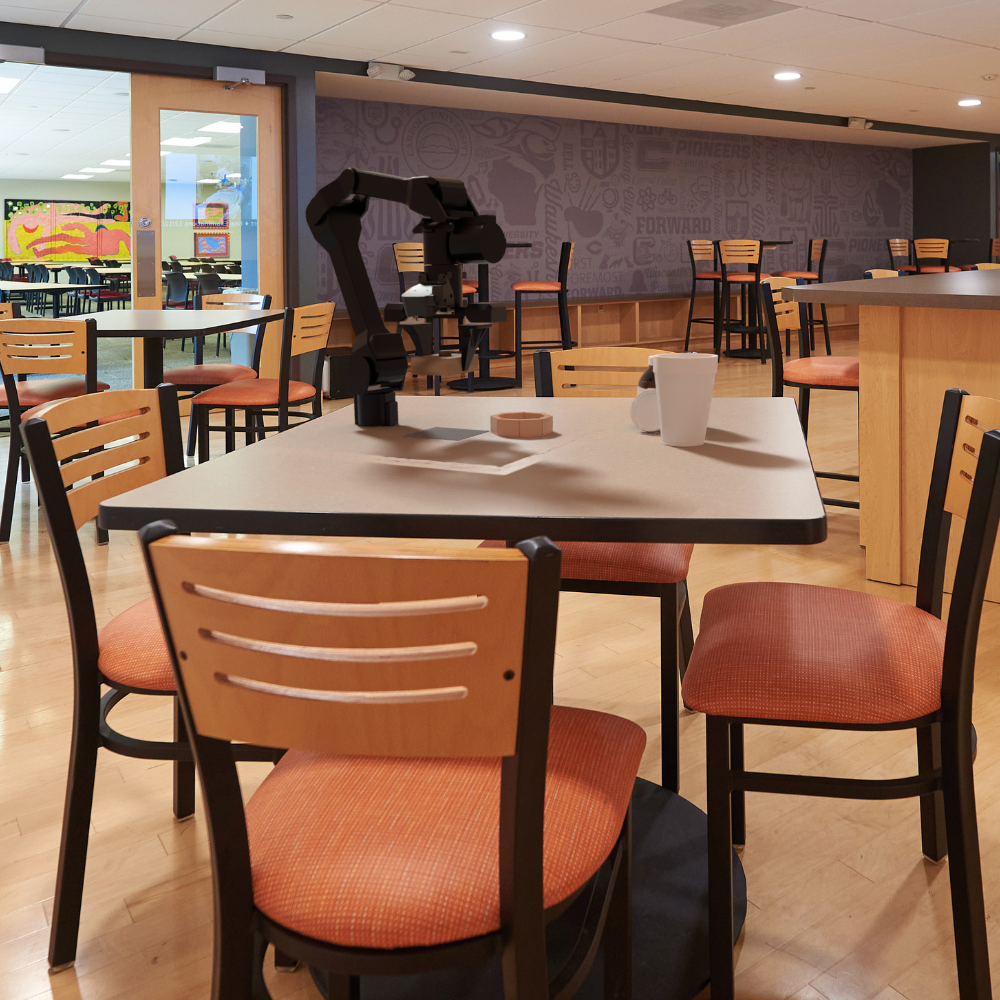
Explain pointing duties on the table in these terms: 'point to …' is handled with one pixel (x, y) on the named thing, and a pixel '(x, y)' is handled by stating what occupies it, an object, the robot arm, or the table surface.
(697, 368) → the foam cup
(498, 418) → the bowl
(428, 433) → the mat
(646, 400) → the spread jar
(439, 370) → the lid
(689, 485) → the table surface
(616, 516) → the table surface
